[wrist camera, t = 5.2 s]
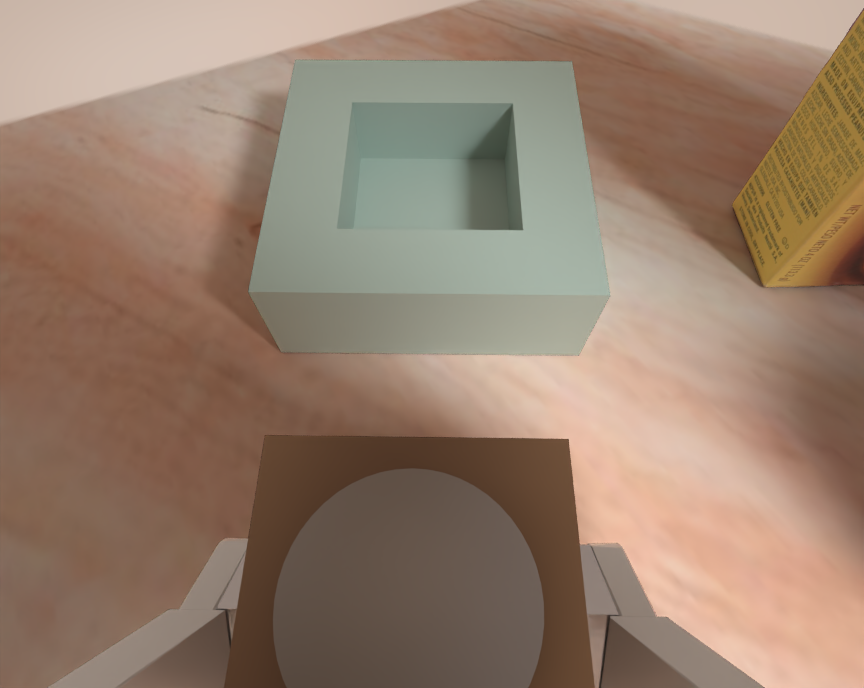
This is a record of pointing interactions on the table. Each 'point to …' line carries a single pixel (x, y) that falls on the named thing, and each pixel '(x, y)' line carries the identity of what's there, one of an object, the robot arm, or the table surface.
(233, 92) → the table surface
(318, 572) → the walnut tongs
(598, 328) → the table surface
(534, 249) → the tongs stand
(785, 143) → the candy box
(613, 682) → the robot arm
